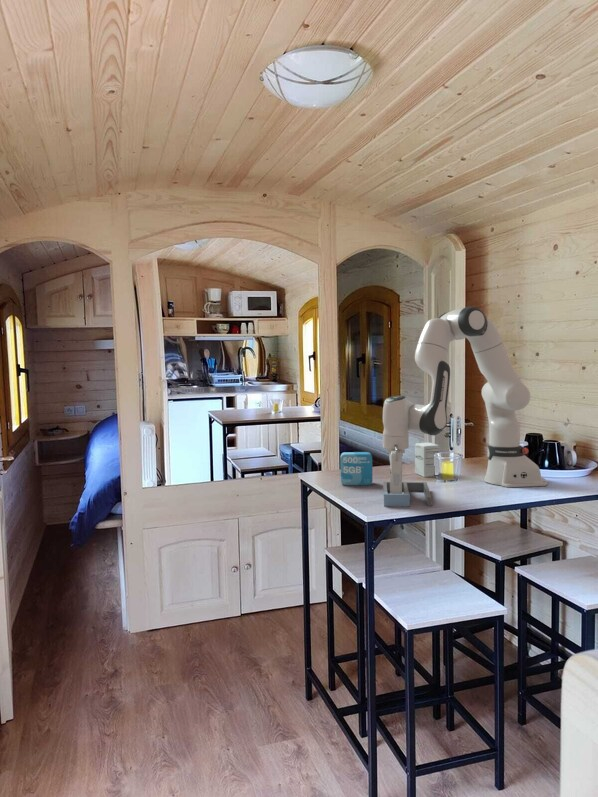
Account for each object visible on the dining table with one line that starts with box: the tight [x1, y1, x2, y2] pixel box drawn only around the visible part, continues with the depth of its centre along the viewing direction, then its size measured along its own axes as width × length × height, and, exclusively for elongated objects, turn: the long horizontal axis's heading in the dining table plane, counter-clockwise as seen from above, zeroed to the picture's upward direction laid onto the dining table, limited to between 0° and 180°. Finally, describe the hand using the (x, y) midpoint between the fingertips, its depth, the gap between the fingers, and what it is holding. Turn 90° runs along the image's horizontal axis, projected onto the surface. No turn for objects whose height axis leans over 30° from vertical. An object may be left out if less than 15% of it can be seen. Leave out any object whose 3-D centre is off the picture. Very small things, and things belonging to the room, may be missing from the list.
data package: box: [339, 451, 373, 486], centre depth 232 cm, size 12×4×12 cm, turn 87°
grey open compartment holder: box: [382, 481, 433, 508], centre depth 211 cm, size 16×22×4 cm
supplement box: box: [414, 442, 440, 478], centre depth 245 cm, size 7×7×13 cm
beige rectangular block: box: [389, 467, 403, 494], centre depth 211 cm, size 4×4×10 cm
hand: (395, 482), depth 211 cm, fingers open, 8 cm apart
